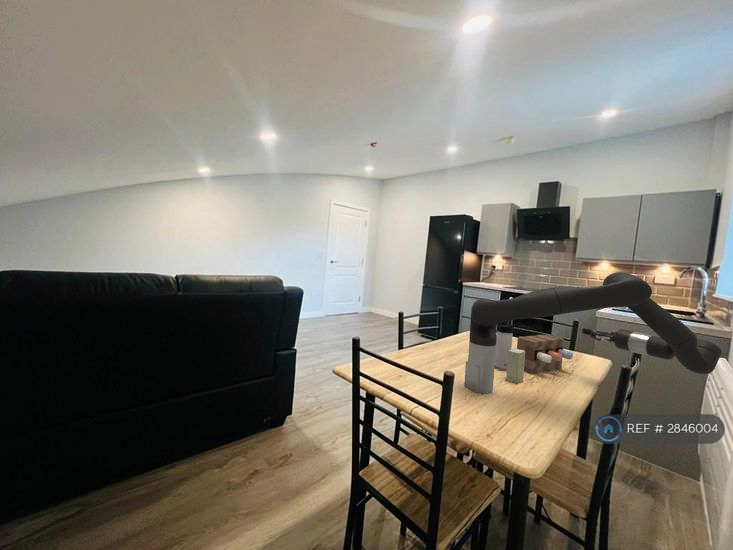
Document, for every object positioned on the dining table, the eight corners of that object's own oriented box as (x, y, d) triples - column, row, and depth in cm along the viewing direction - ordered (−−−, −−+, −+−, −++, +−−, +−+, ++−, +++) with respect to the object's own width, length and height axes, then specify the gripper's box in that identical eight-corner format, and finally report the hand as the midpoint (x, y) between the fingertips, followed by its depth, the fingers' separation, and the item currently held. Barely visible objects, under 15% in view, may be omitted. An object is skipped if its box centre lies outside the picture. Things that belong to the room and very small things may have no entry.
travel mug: (509, 372, 124) (512, 326, 123) (492, 368, 128) (496, 324, 127) (512, 368, 129) (515, 324, 128) (496, 364, 133) (499, 322, 132)
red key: (557, 361, 122) (558, 354, 122) (547, 358, 126) (547, 350, 126) (562, 360, 123) (562, 353, 123) (551, 357, 127) (552, 350, 127)
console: (531, 374, 124) (534, 342, 123) (515, 367, 131) (517, 337, 130) (561, 369, 132) (563, 338, 131) (544, 362, 139) (546, 334, 138)
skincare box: (516, 384, 113) (519, 353, 112) (505, 380, 116) (507, 350, 115) (523, 380, 117) (526, 350, 116) (512, 376, 120) (514, 347, 119)
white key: (546, 363, 119) (547, 355, 119) (536, 359, 123) (536, 352, 123) (551, 362, 121) (552, 355, 120) (541, 359, 125) (541, 351, 124)
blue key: (567, 359, 125) (568, 352, 125) (557, 356, 129) (557, 349, 129) (572, 359, 126) (572, 352, 126) (561, 355, 130) (562, 348, 130)
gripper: (645, 330, 108) (593, 321, 124) (625, 333, 102) (574, 322, 118) (643, 350, 108) (591, 338, 124) (624, 353, 103) (572, 340, 119)
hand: (583, 330), depth 121 cm, fingers closed
